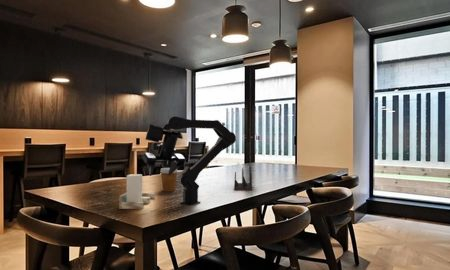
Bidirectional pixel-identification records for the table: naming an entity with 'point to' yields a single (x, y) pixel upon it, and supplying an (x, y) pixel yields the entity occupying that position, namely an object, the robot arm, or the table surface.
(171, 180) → the disposable coffee cup
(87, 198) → the table surface
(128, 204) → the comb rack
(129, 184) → the plug block
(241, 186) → the letter holder
